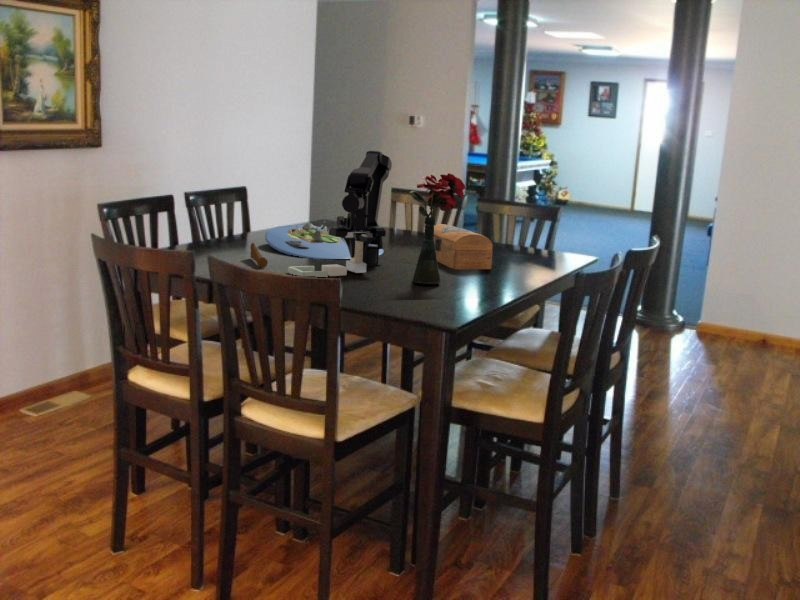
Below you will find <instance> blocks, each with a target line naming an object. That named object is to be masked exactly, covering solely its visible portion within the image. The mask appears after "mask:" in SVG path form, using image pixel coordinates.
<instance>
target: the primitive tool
mask: <svg viewBox="0 0 800 600" xmlns="http://www.w3.org/2000/svg"><path fill="white" fill-rule="evenodd" d="M250 258H251V259H253V260H254V261H255V262H256V264H257V266H258V267H259V268H262V269H265V268H266V267H267V266H268V263H269V262H268V259H267V258H266V257H263V255H262V254H261V253H260V252H259V249H258V248H257V246H256V244H255V243H254V242H251V244H250Z"/></svg>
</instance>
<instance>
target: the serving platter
mask: <svg viewBox="0 0 800 600" xmlns="http://www.w3.org/2000/svg"><path fill="white" fill-rule="evenodd" d="M323 223H326V221H325V220H323ZM331 227H332V226H330V227H329V228H328V226H324V224H321V225H320V226H318V225H313V224H312V222H309V223H305V224H304V225H299V224H297V225H296V224H294V225H293V224H292V225H281V226H280V225H279V226H275V227H273V228H272V227H271V228H270V229H268V230H267V231H266V232H265V234H264V238H265V239H264V240H265V241H266V243H267V244H268V246H270V247H271V248H273V249H274V250H276V251H278V252H280V253H283V254H285V255H288V256H291V255H293V256H292V257H295V256H299V257H306V258H305V259H309V258H313V259H312V260H320V259H350V253H349V249H348V246H347V244H346V241H345V240H344V239H343V238H341V237H335V236H331V235H329V229H330V228H331ZM369 245H371V244H369ZM376 246H378V244H377V245H376ZM384 252H385V251H384V248H383V249H379V256H382V255H383V254H384ZM299 257H298V258H299Z"/></svg>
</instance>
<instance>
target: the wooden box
mask: <svg viewBox="0 0 800 600" xmlns="http://www.w3.org/2000/svg"><path fill="white" fill-rule="evenodd" d="M434 244H435V251H436V259H437V263H440V264H442V265H444V266H445V267H447V268H449V269H451V270H492V264H493V246H494V245H493V243H492V241H491V240H490V238H488V237H487V236H484V235H483V234H480V233H476V232H473V231H471V230H468V229H465V228H461V227H457V226H454V225H449V224H444V223H439V224H436V225H435V224H434Z"/></svg>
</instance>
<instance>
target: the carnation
mask: <svg viewBox="0 0 800 600" xmlns="http://www.w3.org/2000/svg"><path fill="white" fill-rule="evenodd" d="M439 176H440V179H438V180H437V178H436V176H435V175H434V174H430V176H429V175H425V176H422V178H421V179H422V180H425V182H426V183H425V182H424V181H422V182H421V183H417V185H416V188H417V189H421V188H423V189H426V192H428V195H429V197H428V199H425V197H424V196H423V195H422V194H421V193H419V192H418V191H416V190H411V191H409V193H408V194H409V195H410V196H411V197H412V199H413V200H415V201H417V202H418V203H421V204H423V205H424V207H423V206H419V208H418V213H419V214H420V215H422V216H423V217H424V222H423V223H424V235H423V241H422V246H421V248H420V253H419V255H418V256H419V257H418V259H417V263H416V266H415V267H416V268H415V270H414V273H413V278H412V282H413V284H416V283H417V284H418V283H419V284H420V285H435V286H436V285H437V284H440V283H441V277H440V272H439V264H438V262H437V259H436V251H435V244H434V226H435V224H436V223H435V221H436V220H435V219H436V217H434V215H435V213H436V211H437V209H438V207H439V210H440V211H443V212H446V211H447V212H448V211H452V209H454V207H455V206H456V204H457V198H456V197H455V195H454V194H456V196H458V198H459V199H462V198H463V197H464V190H465V189H466V184H465V183H464V181H463V180H462V179H461V178H460V177H457V176H455V175H454V174H452V173H446V174H439ZM426 205H427V206H429V210H430V211H429V213H428V210H427V207H426ZM434 208H435V209H434ZM433 210H434V211H433ZM430 216H431V217H430Z"/></svg>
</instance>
